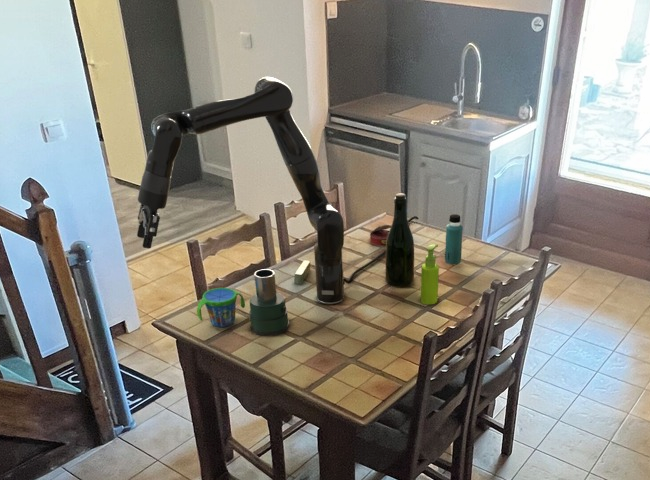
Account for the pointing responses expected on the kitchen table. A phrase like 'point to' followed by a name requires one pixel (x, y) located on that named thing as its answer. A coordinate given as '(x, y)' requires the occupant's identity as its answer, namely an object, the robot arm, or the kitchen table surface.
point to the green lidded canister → (268, 316)
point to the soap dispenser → (429, 278)
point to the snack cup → (220, 306)
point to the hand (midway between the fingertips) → (143, 242)
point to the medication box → (302, 272)
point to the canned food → (379, 235)
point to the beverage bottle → (453, 240)
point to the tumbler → (265, 286)
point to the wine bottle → (400, 247)
